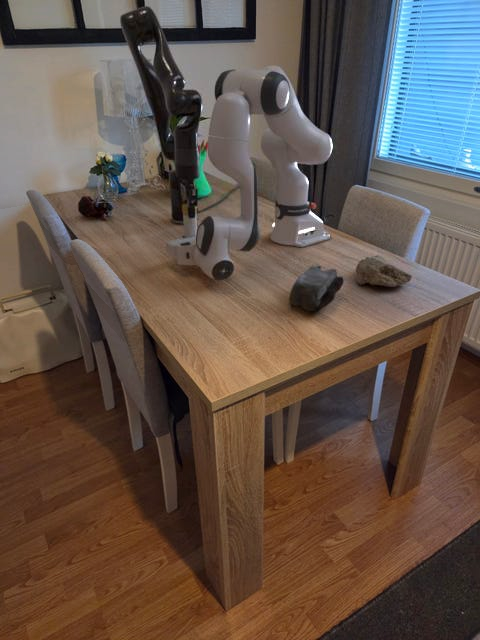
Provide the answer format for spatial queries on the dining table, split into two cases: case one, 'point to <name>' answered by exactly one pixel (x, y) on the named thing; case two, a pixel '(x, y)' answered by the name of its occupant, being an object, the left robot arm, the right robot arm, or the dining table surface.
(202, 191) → the toy
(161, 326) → the dining table surface
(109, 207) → the toy
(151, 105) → the left robot arm
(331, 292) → the rock
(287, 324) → the dining table surface
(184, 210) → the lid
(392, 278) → the artifact
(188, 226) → the white tall cylinder
